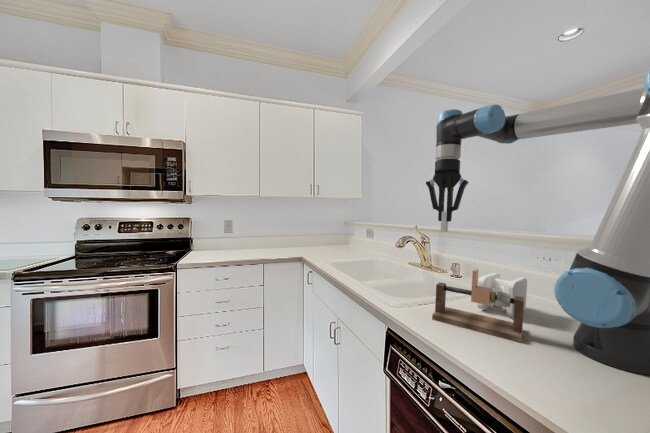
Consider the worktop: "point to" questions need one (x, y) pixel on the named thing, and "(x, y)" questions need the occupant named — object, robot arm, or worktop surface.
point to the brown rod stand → (479, 321)
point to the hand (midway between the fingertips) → (444, 231)
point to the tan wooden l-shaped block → (479, 291)
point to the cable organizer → (503, 290)
